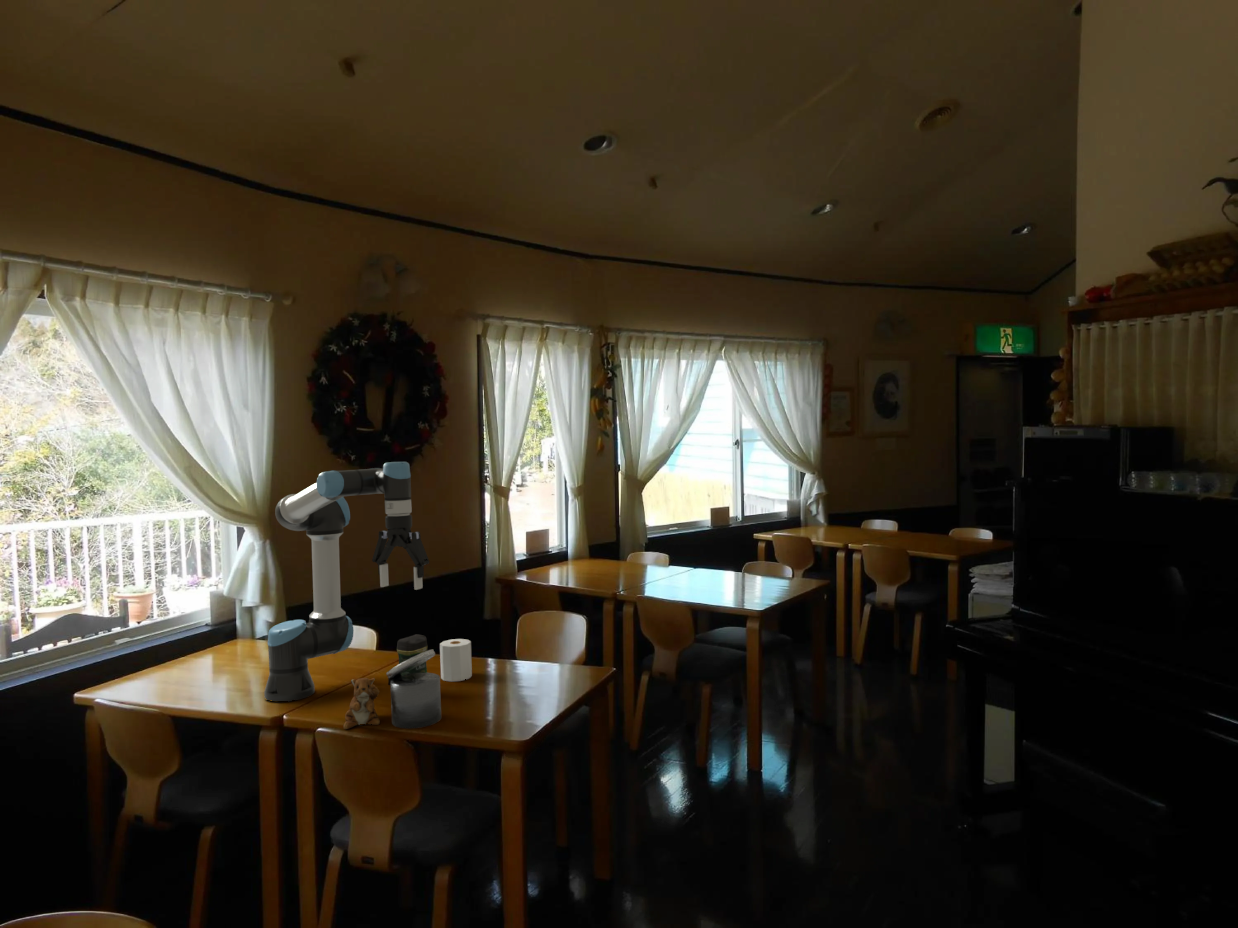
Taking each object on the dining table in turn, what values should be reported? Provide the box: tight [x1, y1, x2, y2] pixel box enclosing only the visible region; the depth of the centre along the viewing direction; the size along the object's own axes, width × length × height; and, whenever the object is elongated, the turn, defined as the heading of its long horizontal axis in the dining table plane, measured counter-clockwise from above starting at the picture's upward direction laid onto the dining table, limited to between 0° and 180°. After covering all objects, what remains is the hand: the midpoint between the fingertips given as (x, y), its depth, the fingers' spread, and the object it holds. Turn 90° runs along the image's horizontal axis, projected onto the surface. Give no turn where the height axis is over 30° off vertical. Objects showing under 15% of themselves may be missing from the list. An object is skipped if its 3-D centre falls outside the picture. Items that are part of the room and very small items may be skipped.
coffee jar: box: [396, 634, 428, 675], centre depth 263 cm, size 10×8×19 cm
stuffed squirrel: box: [343, 677, 381, 730], centre depth 238 cm, size 10×14×13 cm
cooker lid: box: [386, 649, 436, 679], centre depth 238 cm, size 15×15×1 cm
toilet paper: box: [439, 638, 473, 683], centre depth 279 cm, size 10×10×12 cm
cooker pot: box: [387, 672, 442, 730], centre depth 238 cm, size 15×14×12 cm
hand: (401, 587), depth 239 cm, fingers open, 12 cm apart
